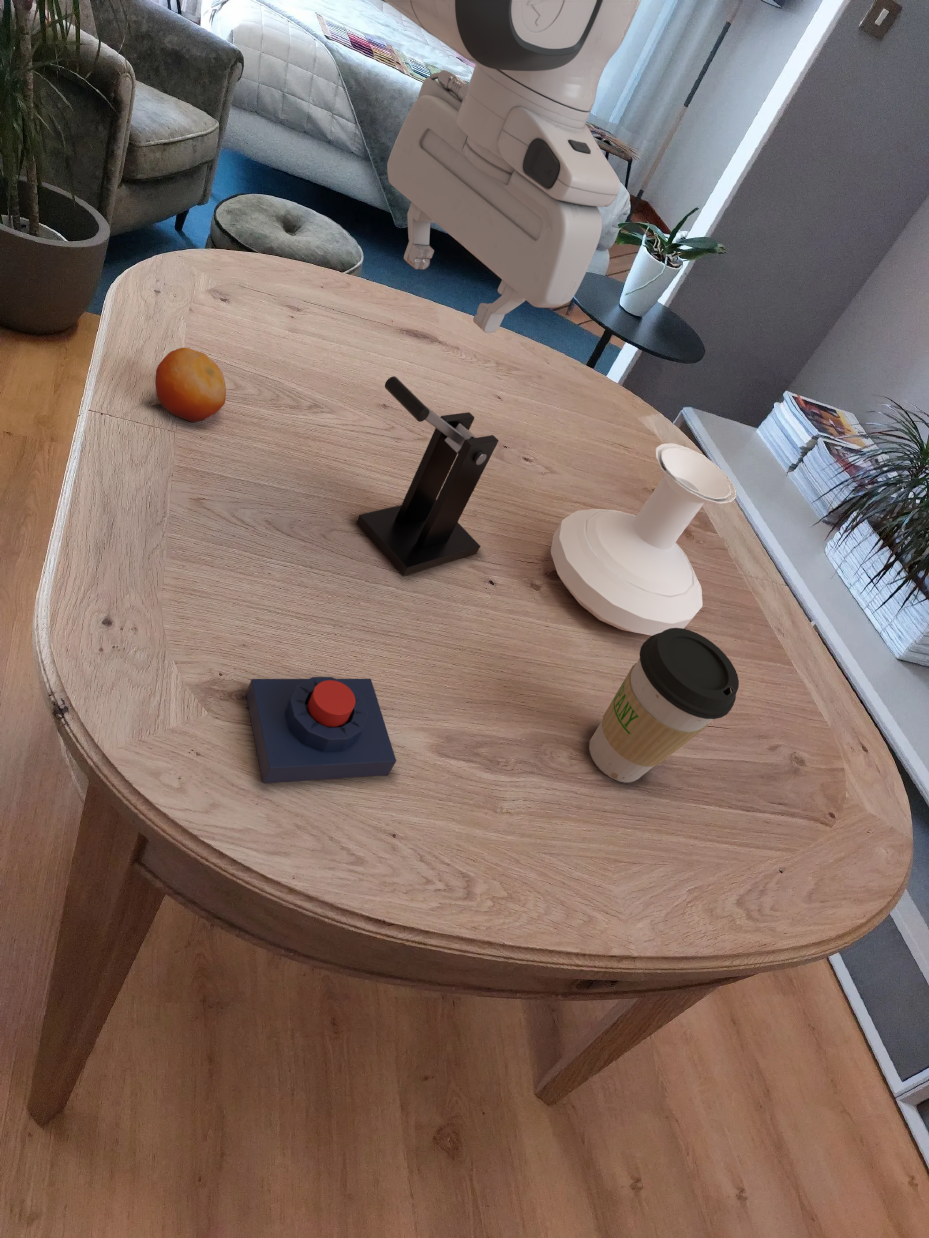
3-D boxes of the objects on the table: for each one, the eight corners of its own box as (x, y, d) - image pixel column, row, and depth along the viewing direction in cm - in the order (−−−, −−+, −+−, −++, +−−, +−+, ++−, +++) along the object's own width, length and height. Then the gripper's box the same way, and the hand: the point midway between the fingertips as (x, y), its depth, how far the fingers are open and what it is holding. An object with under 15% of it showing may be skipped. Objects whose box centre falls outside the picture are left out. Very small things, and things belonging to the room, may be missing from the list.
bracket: (403, 576, 92) (457, 462, 82) (355, 522, 95) (402, 407, 85) (476, 554, 100) (534, 448, 90) (430, 505, 103) (481, 397, 93)
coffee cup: (608, 704, 91) (684, 610, 81) (674, 772, 87) (762, 682, 78) (554, 739, 84) (631, 641, 74) (624, 814, 80) (714, 721, 71)
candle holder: (581, 654, 95) (673, 527, 83) (515, 533, 106) (587, 407, 94) (707, 651, 105) (806, 538, 93) (634, 542, 117) (713, 429, 104)
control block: (262, 783, 67) (274, 755, 65) (245, 694, 73) (256, 665, 70) (388, 775, 73) (403, 748, 70) (363, 693, 78) (377, 665, 76)
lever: (411, 422, 76) (428, 402, 75) (378, 389, 77) (395, 369, 77) (475, 469, 89) (491, 452, 89) (446, 440, 91) (461, 423, 91)
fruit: (153, 363, 98) (197, 326, 95) (202, 416, 102) (247, 382, 98) (123, 394, 92) (169, 355, 89) (176, 448, 96) (223, 414, 92)
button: (312, 728, 68) (318, 715, 67) (303, 693, 71) (309, 680, 69) (353, 726, 70) (359, 714, 69) (344, 692, 72) (350, 679, 71)
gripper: (403, 51, 63) (348, 228, 72) (586, 189, 56) (500, 368, 65) (460, 67, 68) (401, 232, 76) (637, 198, 60) (550, 364, 69)
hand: (448, 295), depth 70 cm, fingers open, 8 cm apart
